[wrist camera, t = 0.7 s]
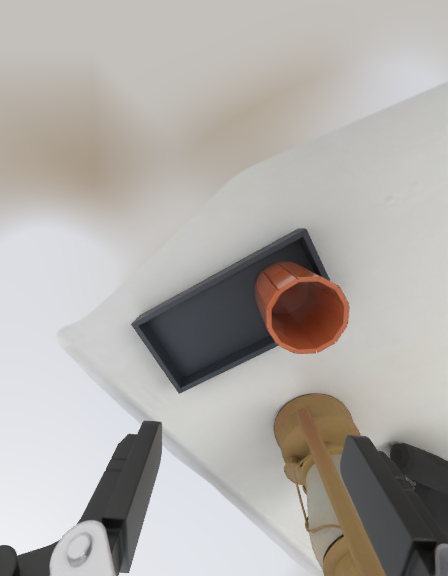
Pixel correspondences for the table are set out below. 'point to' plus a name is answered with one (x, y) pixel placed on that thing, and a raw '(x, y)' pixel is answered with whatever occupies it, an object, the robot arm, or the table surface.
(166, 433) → the table surface
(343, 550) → the lantern
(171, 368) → the tray
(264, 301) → the cup
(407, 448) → the gaming controller
